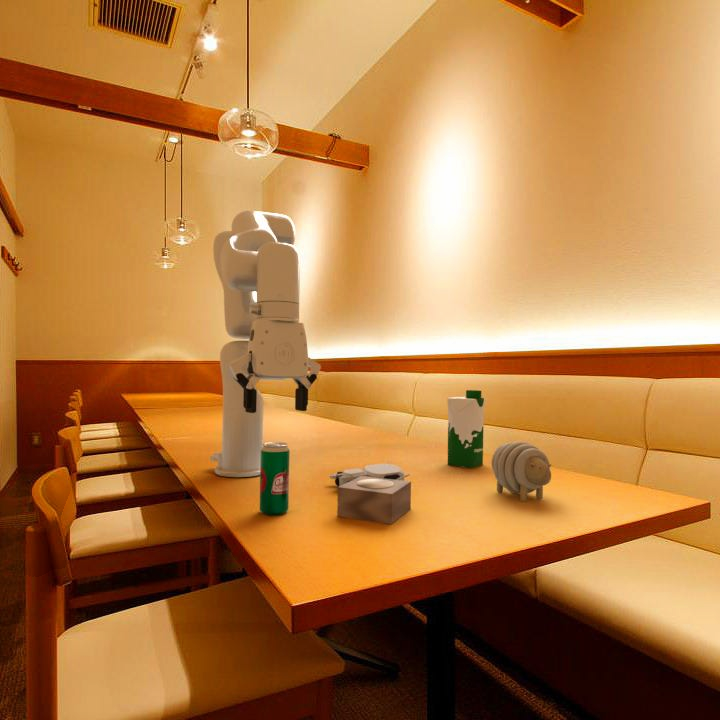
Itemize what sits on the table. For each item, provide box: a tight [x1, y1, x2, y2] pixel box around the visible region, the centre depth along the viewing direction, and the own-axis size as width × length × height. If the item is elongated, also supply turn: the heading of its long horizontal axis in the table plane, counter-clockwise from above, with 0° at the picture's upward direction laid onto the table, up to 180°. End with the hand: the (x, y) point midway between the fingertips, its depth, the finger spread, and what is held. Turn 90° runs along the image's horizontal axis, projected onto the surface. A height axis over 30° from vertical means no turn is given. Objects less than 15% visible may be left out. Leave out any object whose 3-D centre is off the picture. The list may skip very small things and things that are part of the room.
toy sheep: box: [491, 441, 552, 503], centre depth 104 cm, size 11×17×11 cm, turn 25°
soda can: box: [259, 441, 291, 516], centre depth 89 cm, size 5×5×12 cm
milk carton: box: [446, 389, 486, 469], centre depth 135 cm, size 9×9×20 cm
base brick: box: [336, 476, 412, 525], centre depth 90 cm, size 10×10×5 cm
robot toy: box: [329, 462, 411, 487], centre depth 107 cm, size 12×4×15 cm
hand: (276, 411), depth 88 cm, fingers open, 9 cm apart
